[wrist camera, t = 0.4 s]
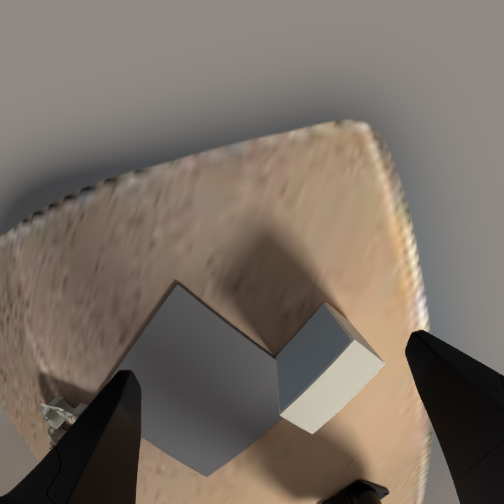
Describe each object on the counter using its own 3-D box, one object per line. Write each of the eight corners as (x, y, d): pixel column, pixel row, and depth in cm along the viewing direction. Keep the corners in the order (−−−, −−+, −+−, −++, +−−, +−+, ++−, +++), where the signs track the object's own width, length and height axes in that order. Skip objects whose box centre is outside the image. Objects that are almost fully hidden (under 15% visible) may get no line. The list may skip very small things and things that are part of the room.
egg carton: (63, 432, 25) (46, 449, 21) (50, 385, 25) (29, 401, 21) (137, 461, 25) (124, 483, 21) (129, 414, 24) (112, 437, 20)
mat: (314, 384, 23) (315, 387, 22) (207, 474, 24) (206, 477, 24) (178, 283, 22) (177, 284, 22) (97, 398, 24) (95, 400, 24)
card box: (349, 320, 22) (385, 363, 14) (299, 374, 23) (312, 434, 15) (324, 300, 22) (352, 338, 14) (274, 356, 23) (277, 414, 15)
